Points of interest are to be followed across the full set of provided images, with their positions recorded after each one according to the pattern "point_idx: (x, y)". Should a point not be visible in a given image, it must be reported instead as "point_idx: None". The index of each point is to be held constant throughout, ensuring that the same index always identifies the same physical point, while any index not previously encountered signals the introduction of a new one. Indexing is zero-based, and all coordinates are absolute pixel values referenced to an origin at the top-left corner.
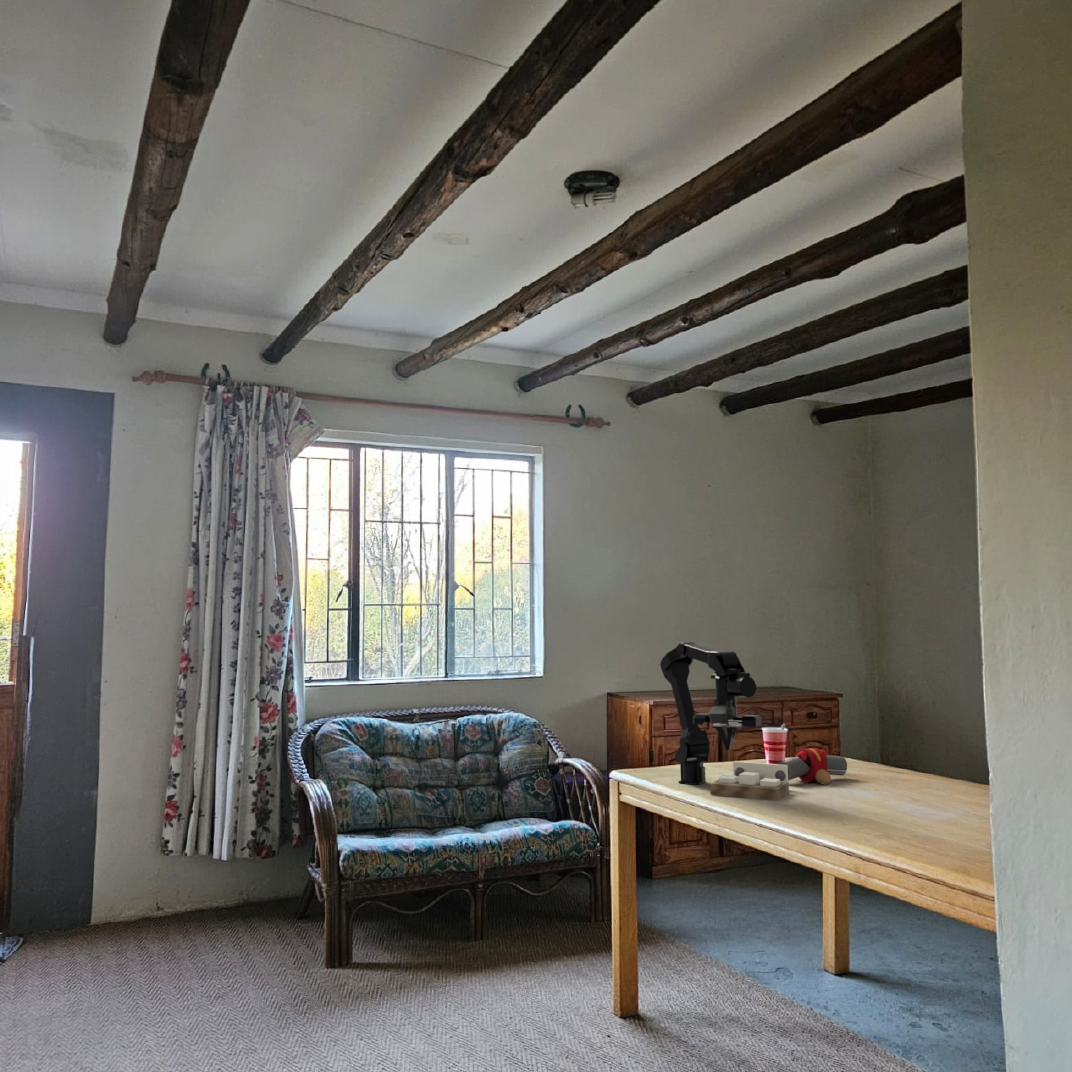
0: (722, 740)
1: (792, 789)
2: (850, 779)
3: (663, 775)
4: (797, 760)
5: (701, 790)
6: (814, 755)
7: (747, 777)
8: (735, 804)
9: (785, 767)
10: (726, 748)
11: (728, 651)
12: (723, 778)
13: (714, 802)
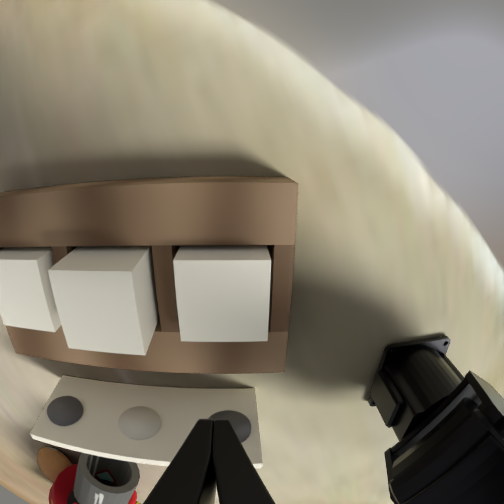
0: (268, 497)
1: None
2: None
3: None
4: (83, 500)
5: (355, 255)
6: None
7: (87, 264)
8: (108, 27)
9: (37, 429)
10: (222, 431)
11: None
12: (239, 258)
13: (205, 15)
